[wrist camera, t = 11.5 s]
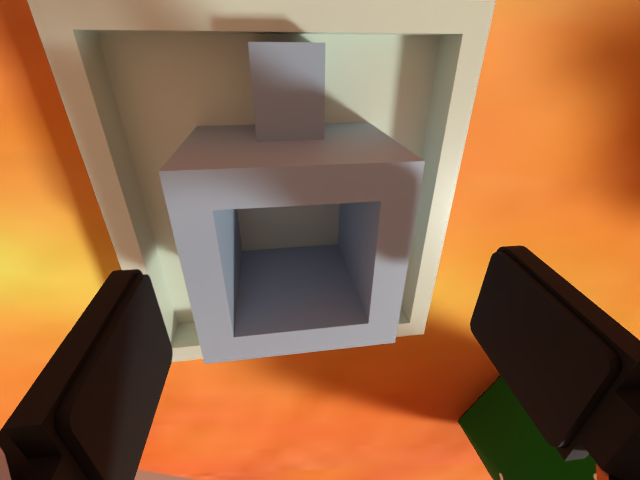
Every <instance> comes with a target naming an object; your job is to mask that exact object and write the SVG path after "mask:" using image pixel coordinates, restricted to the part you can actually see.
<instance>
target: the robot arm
mask: <svg viewBox="0 0 640 480" xmlns="http://www.w3.org/2000/svg"><path fill="white" fill-rule="evenodd" d="M470 327H471V331H472V333H473V335H474V336H475V338H476V339H477V341H478V342H479V344H480V345H481V347H482V348H483V350H484V351H485V353H486V354H487V355H488V357H489V358H490V360H491V361H492V363H493V364H494V366H495V367H496V369H497V370H498V372H499V373H500V375H501V376H502V377H503V379H504V380H505V382H506V383H507V385H508V386H509V388H510V389H511V391H512V392H513V394H514V395H515V397H516V398H517V399H518V401H519V402H520V404H521V405H522V407H523V408H524V410H525V411H526V413H527V414H528V416H529V417H530V419H531V420H532V421H533V423H534V424H535V426H536V427H537V429H538V430H539V432H540V433H541V435H542V436H543V438H544V439H545V440H546V442H547V443H548V444H549V445H551V446H552V447H555V448H556V450H557V451H558V452H559V454H560V455H561V457H562V458H563V460H564V461H570V460H577V459H584V458H586V457H587V456H588V454H590V455H591V457H592V458H593V459H594V461H595V462H596V474H597V480H640V340H638V339H637V338H636V337H635V336H634V335H632V334H631V333H630V332H629V331H627V330H626V329H625V328H624V327H623V326H621V325H620V324H619V323H618V322H616V321H615V320H614V319H613V318H612V317H610V316H609V315H608V314H607V313H605V312H604V311H603V310H602V309H601V308H599V307H598V306H597V305H596V304H594V303H593V302H592V301H591V300H590V299H588V298H587V297H586V296H585V295H583V294H582V293H581V292H580V291H579V290H577V289H576V288H575V287H574V286H572V285H571V284H570V283H569V282H568V281H566V280H565V279H564V278H563V277H561V276H560V275H559V274H558V273H556V272H555V271H554V270H553V269H552V268H550V267H549V266H548V265H547V264H545V263H544V262H543V261H542V260H541V259H539V258H538V257H537V256H536V255H534V254H533V253H532V252H531V251H530V250H528V249H527V248H526V247H524V246H506V247H500V248H499V249H498V250H497V252H495V253H493V254H492V256H491V259H490V262H489V265H488V268H487V272H486V275H485V278H484V281H483V284H482V287H481V290H480V293H479V297H478V300H477V303H476V306H475V309H474V312H473V315H472V318H471V322H470ZM172 356H173V351H172V345H171V342H170V339H169V336H168V333H167V329H166V326H165V323H164V320H163V317H162V313H161V310H160V307H159V304H158V301H157V298H156V294H155V291H154V288H153V285H152V282H151V279H150V276H149V275H147V274H143V273H142V272H141V271H140V270H139V269H132V270H116V271H113V272H112V273H111V274H110V275H109V277H108V278H107V279H106V281H105V282H104V284H103V285H102V287H101V288H100V289H99V291H98V292H97V294H96V295H95V297H94V298H93V300H92V301H91V302H90V304H89V305H88V307H87V308H86V310H85V311H84V312H83V314H82V315H81V317H80V318H79V320H78V321H77V322H76V324H75V325H74V327H73V328H72V330H71V331H70V332H69V334H68V335H67V336H66V338H65V339H64V341H63V342H62V343H61V345H60V346H59V348H58V349H57V351H56V352H55V353H54V355H53V356H52V358H51V359H50V361H49V362H48V363H47V365H46V366H45V368H44V369H43V371H42V372H41V373H40V375H39V376H38V378H37V379H36V381H35V382H34V383H33V385H32V386H31V388H30V389H29V391H28V392H27V393H26V395H25V396H24V398H23V399H22V401H21V402H20V403H19V405H18V406H17V408H16V409H15V411H14V412H13V413H12V415H11V416H10V418H9V419H8V421H7V422H6V423H5V425H4V426H3V428H2V429H1V431H0V480H134V478H135V475H136V472H137V469H138V466H139V463H140V459H141V456H142V453H143V450H144V447H145V444H146V440H147V437H148V434H149V431H150V428H151V425H152V422H153V418H154V415H155V412H156V409H157V406H158V403H159V400H160V396H161V393H162V390H163V387H164V384H165V381H166V377H167V374H168V371H169V368H170V365H171V362H172Z"/></svg>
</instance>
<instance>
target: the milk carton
mask: <svg viewBox="0 0 640 480" xmlns="http://www.w3.org/2000/svg"><path fill="white" fill-rule="evenodd" d="M458 422H459V424H460V425H461V427H462V429H463V430H464V432H465V434H466V435H467V437H468V439H469V440H470V442H471V444H472V445H473V447H474V449H475V450H476V452H477V454H478V455H479V457H480V459H481V460H482V462H483V464H484V465H485V467H486V469H487V470H488V472H489V474H490V475H491V477H492V479H493V480H597V474H596V462H595V461H594V459H593V458H592V457H591V455H590V454H588V456H587V457H586V458H584V459H577V460H570V461H564V460H563V458H562V457H561V455H560V454H559V452H558V451H557V450H556V448H555V447H552V446H551V445H549V444H548V443H547V442H546V440H545V439H544V438H543V436H542V435H541V433H540V432H539V430H538V429H537V427H536V426H535V424H534V423H533V421H532V420H531V419H530V417H529V416H528V414H527V413H526V411H525V410H524V408H523V407H522V405H521V404H520V402H519V401H518V399H517V398H516V397H515V395H514V394H513V392H512V391H511V389H510V388H509V386H508V385H507V383H506V382H505V380H504V379H503V377H502V376H500V377H499V378H498V379H497V380H496V381H495V382H494V383H493V384H492V386H491V387H490V388H489V389H488V390H487V391H486V392H485V393H484V394H483V395H482V396H481V397H480V398H479V399H478V400H477V401H476V402H475V404H474V405H473V406H472V407H471V408H470V409H469V410H468V411H467V412H466V413H465V414H464V415H463V416H462V417H461V418H460V419H459V421H458Z"/></svg>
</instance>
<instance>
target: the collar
mask: <svg viewBox="0 0 640 480" xmlns="http://www.w3.org/2000/svg"><path fill="white" fill-rule="evenodd" d="M248 48H249V60H250V71H251V83H252V95H253V106H254V118H255V125H223V126H197V127H196V128H195V129H194V130H193V131H192V132H191V134H190V135H189V136H188V137H187V138H186V139H185V141H184V142H183V143H182V144H181V145H180V146H179V148H178V149H177V150H176V151H175V152H174V153H173V155H172V156H171V157H170V158H169V159H168V161H167V162H166V163H165V164H164V165H163V166H162V168H161V169H160V170H159V171H158V172H159V176H160V180H161V184H162V188H163V193H164V197H165V201H166V205H167V209H168V214H169V218H170V222H171V226H172V230H173V234H174V239H175V243H176V247H177V251H178V255H179V260H180V264H181V268H182V272H183V276H184V280H185V285H186V289H187V293H188V297H189V301H190V306H191V310H192V314H193V318H194V322H195V326H196V331H197V335H198V339H199V343H200V347H201V352H202V356H203V360H204V364H210V363H219V362H228V361H237V360H245V359H254V358H263V357H272V356H281V355H290V354H299V353H308V352H317V351H326V350H335V349H344V348H353V347H362V346H371V345H380V344H389V343H395V341H396V335H397V329H398V323H399V317H400V310H401V304H402V298H403V292H404V286H405V280H406V274H407V268H408V262H409V256H410V250H411V243H412V237H413V231H414V225H415V219H416V213H417V207H418V201H419V195H420V189H421V183H422V176H423V170H424V164H425V161H424V160H423V159H421V158H420V157H418V156H417V155H416V154H414V153H413V152H411V151H410V150H408V149H407V148H405V147H404V146H403V145H401V144H400V143H398V142H397V141H395V140H394V139H392V138H391V137H389V136H388V135H387V134H385V133H384V132H382V131H381V130H379V129H378V128H376V127H375V126H374V125H372V124H371V123H369V122H362V123H324V122H325V43H315V42H248ZM321 204H339V230H338V244H333V245H319V246H304V247H290V248H276V249H261V250H247V251H242V245H241V237H240V229H239V221H238V213H237V209H247V208H265V207H284V206H302V205H321Z"/></svg>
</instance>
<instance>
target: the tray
mask: <svg viewBox="0 0 640 480" xmlns="http://www.w3.org/2000/svg"><path fill="white" fill-rule="evenodd" d="M27 2H28V5H29V8H30V10H31V13H32V16H33V19H34V22H35V25H36V27H37V30H38V33H39V36H40V39H41V42H42V45H43V47H44V50H45V53H46V56H47V59H48V62H49V65H50V67H51V70H52V73H53V76H54V79H55V82H56V84H57V87H58V90H59V93H60V96H61V99H62V102H63V104H64V107H65V110H66V113H67V116H68V119H69V122H70V124H71V127H72V130H73V133H74V136H75V139H76V141H77V144H78V147H79V150H80V153H81V156H82V159H83V161H84V164H85V167H86V170H87V173H88V176H89V178H90V181H91V184H92V187H93V190H94V193H95V196H96V198H97V201H98V204H99V207H100V210H101V213H102V216H103V218H104V221H105V224H106V227H107V230H108V233H109V235H110V238H111V241H112V244H113V247H114V250H115V253H116V255H117V258H118V261H119V264H120V267H121V270H132V269H139V270H140V271H141V272H142V273H143V274H147V275H149V276H150V279H151V282H152V285H153V288H154V291H155V294H156V298H157V301H158V304H159V307H160V310H161V313H162V317H163V320H164V323H165V326H166V329H167V333H168V336H169V339H170V342H171V345H172V351H173V356H172V362H177V361H186V360H195V359H203V356H202V352H201V347H200V343H199V339H198V335H197V331H196V326H195V322H194V318H193V314H192V310H191V306H190V301H189V297H188V293H187V289H186V285H185V280H184V276H183V272H182V268H181V264H180V260H179V255H178V251H177V247H176V243H175V239H174V234H173V230H172V226H171V222H170V218H169V214H168V209H167V205H166V201H165V197H164V193H163V188H162V184H161V180H160V176H159V172H158V171H159V170H160V169H161V168H162V166H163V165H164V164H165V163H166V162H167V161H168V159H169V158H170V157H171V156H172V155H173V153H174V152H175V151H176V150H177V149H178V148H179V146H180V145H181V144H182V143H183V142H184V141H185V139H186V138H187V137H188V136H189V135H190V134H191V132H192V131H193V130H194V129H195V128H196V127H197V126H223V125H255V118H254V106H253V95H252V83H251V71H250V60H249V48H248V42H315V43H325V122H324V123H362V122H369V123H371V124H372V125H374V126H375V127H376V128H378V129H379V130H381V131H382V132H384V133H385V134H387V135H388V136H389V137H391V138H392V139H394V140H395V141H397V142H398V143H400V144H401V145H403V146H404V147H405V148H407V149H408V150H410V151H411V152H413V153H414V154H416V155H417V156H418V157H420V158H421V159H423V160H424V161H425V164H424V170H423V176H422V183H421V189H420V195H419V201H418V207H417V213H416V219H415V225H414V231H413V237H412V243H411V250H410V256H409V262H408V268H407V274H406V280H405V286H404V292H403V298H402V304H401V310H400V317H399V323H398V329H397V335H396V337H402V336H411V335H420V334H424V331H425V326H426V322H427V317H428V312H429V308H430V303H431V299H432V294H433V289H434V285H435V280H436V275H437V271H438V266H439V261H440V257H441V252H442V248H443V243H444V238H445V234H446V229H447V224H448V220H449V215H450V210H451V206H452V201H453V197H454V192H455V187H456V183H457V178H458V173H459V169H460V164H461V160H462V155H463V150H464V146H465V141H466V136H467V132H468V127H469V122H470V118H471V113H472V109H473V104H474V99H475V95H476V90H477V85H478V81H479V76H480V71H481V67H482V62H483V58H484V53H485V48H486V44H487V39H488V34H489V30H490V25H491V21H492V16H493V11H494V7H495V2H496V1H490V0H27ZM237 213H238V221H239V229H240V237H241V245H242V251H247V250H261V249H276V248H290V247H304V246H319V245H333V244H338V230H339V204H321V205H302V206H284V207H265V208H247V209H237Z"/></svg>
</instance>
